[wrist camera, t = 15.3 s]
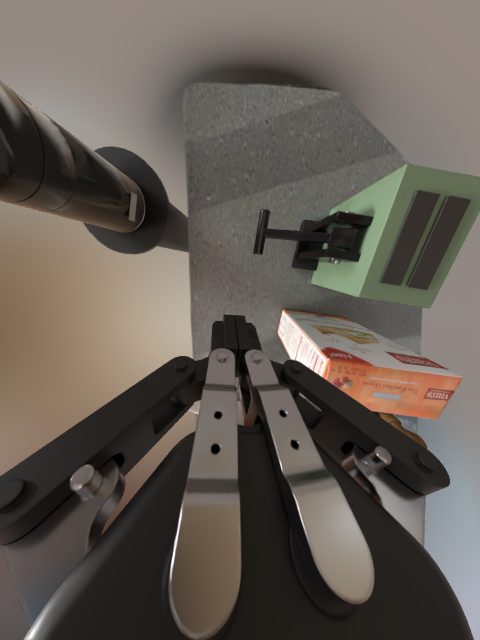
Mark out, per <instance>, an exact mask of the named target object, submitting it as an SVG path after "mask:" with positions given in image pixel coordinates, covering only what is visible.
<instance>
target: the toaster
mask: <svg viewBox="0 0 480 640" xmlns="http://www.w3.org/2000/svg"><path fill="white" fill-rule="evenodd" d="M337 211H343V212H347V211H352V212H355V213H356V214H360V215H366V216H372V217H374V219H373V221H372V224H371V226H370V227H366V228H363V229H359V230H358V231H357V234H356V237H355V240H354V244H353V247H352V248H351V250H350V251H348V252H354V253H360V254H361V256H360V259H359V262H340V264H339V265H337V264H330V263H328V262H326V263H318V267H317V270H316V271H314V273H313V276H312V280H311V284H315V285H318V286H321V287H325V288H328V289H332V290H335V291H339V292H342V293H345V294H349V295H352V296H356V297H360V298H366V299H373V300H379V301H386V302H392V303H399V304H405V305H411V306H418V307H424V308H430V307H431V305H432V303H433V301H434V299H435V297H436V295H437V294H438V291H439V290H440V288H441V285H442V284H443V281H444V279H445V278H446V276H447V274H448V272H449V270H450V268H451V266H452V264H453V262H454V260H455V258H456V256H457V254H458V252H459V250H460V248H461V247H462V245H463V243H464V241H465V239H466V237H467V235H468V233H469V231H470V229H471V227H472V225H473V223H474V221H475V219H476V217H477V215H478V213H479V211H480V177H476V176H471V175H466V174H461V173H455V172H450V171H445V170H439V169H434V168H428V167H423V166H417V165H412V164H406V165H404V166H403V167H401V168H399V169H398V170H396V171H394V172H393V173H391V174H389V175H388V176H386V177H384V178H383V179H381V180H379V181H378V182H376V183H375V184H373V185H371V186H370V187H368V188H366V189H365V190H363V191H361V192H360V193H358V194H356V195H355V196H353V197H351V198H350V199H348V200H346V201H345V202H343V203H341V204H340V205H338V206H336V207H335V208H333V209H331V211H330V214H329V216H330V215H332V214H334V213H336V212H337ZM327 245H328V244H327V243H324V245H323V249H327ZM342 251H345V250H342Z"/></svg>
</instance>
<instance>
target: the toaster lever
mask: <svg viewBox="0 0 480 640" xmlns="http://www.w3.org/2000/svg"><path fill="white" fill-rule="evenodd" d="M269 215H270V211H269V210H266V209H262V210H260V216H259V222H258V228H257V234H256V240H255V246H254V252H253V253H254V254H260V255H262V254H263V248H264V243H265V238H271V239H282V240H293V241H305V242H316V243H327V244H328V245H327V248H330V249H336V250H345V251H350V250H351V248H352V247H353V244H354V240H355V237H356V234H357V231H358V229H356V228H338V227H333V228H332V230H331V233H320V232H306V231H291V230H276V229H267V226H268V220H269Z"/></svg>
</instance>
